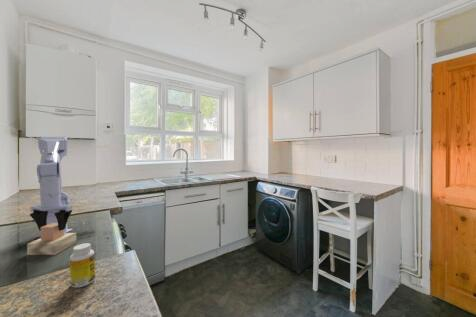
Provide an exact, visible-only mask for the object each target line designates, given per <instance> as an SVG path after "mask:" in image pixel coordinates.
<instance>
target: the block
mask: <svg viewBox="0 0 476 317" xmlns="http://www.w3.org/2000/svg"><path fill="white" fill-rule="evenodd" d="M40 228H41V237H40V238H41V241H54V240H56V239H58V238H60V237H62V236H64V230H61V231H59V229H58V223H51V224H48V225H45V226H43V227H40Z"/></svg>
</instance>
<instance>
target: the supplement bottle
mask: <svg viewBox="0 0 476 317" xmlns="http://www.w3.org/2000/svg"><path fill="white" fill-rule="evenodd" d="M95 260H96V259H95V251H94V249H92V245H91V243H89V242H87V243H86V242H85V243H81V244H78V245H75V246H74V247H73V248H72V254H71V255H70V257H69V272H70V285H71V287H72V288H76V289H77V288H82V287H86V286H87V285H88V286H89V285H90V284H91V283H93V282H94V281H95V280H96V279H95V278H96V264H95V263H96V261H95Z"/></svg>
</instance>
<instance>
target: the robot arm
mask: <svg viewBox="0 0 476 317" xmlns="http://www.w3.org/2000/svg"><path fill="white" fill-rule="evenodd" d="M37 145H38V150H39V153H40V155H41V156H40V161H39V162H40V163H39V164H36V175H37V178H38V184H39V194H40V195H39V196H40V204H38V205H32V206H29V207H30V210H29V211H30V212H31V213H30V214H29V216H30V217H31V219H32V220H34V222H35V223H36V226H37V228H38V230H39V234H38V235H37V237H39V238H41V228H40V227H43V226H45V225H48V224H51V223H58V229H59V231H61V230H64V233H70V232H71V231H73V228H68V220H69V217H70V216H71V214H72V212H73V205H72V204H71V201H70V195H69V194H68V193H67V192H64V191H62V190H63V189H62V165H61V164H62V159H63V157H65V156H67V155H68V138H67V137H66V136H42V135H41V136H39V137H38V139H37Z"/></svg>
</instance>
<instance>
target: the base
mask: <svg viewBox="0 0 476 317" xmlns="http://www.w3.org/2000/svg"><path fill="white" fill-rule="evenodd" d="M76 244H77V232H67V233H64V236H62V237H60V238H58V239H56V240H54V241H41V237H39V238H36V240H32V241H30V242H28V243H26V249H27V251H26V252H27V256H43V255H44V256H47V255H48V256H54V255H56V254H58V253H60V252H62V251H64V250H66V249H67V248H69V247H72V246H73V245H76Z"/></svg>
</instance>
